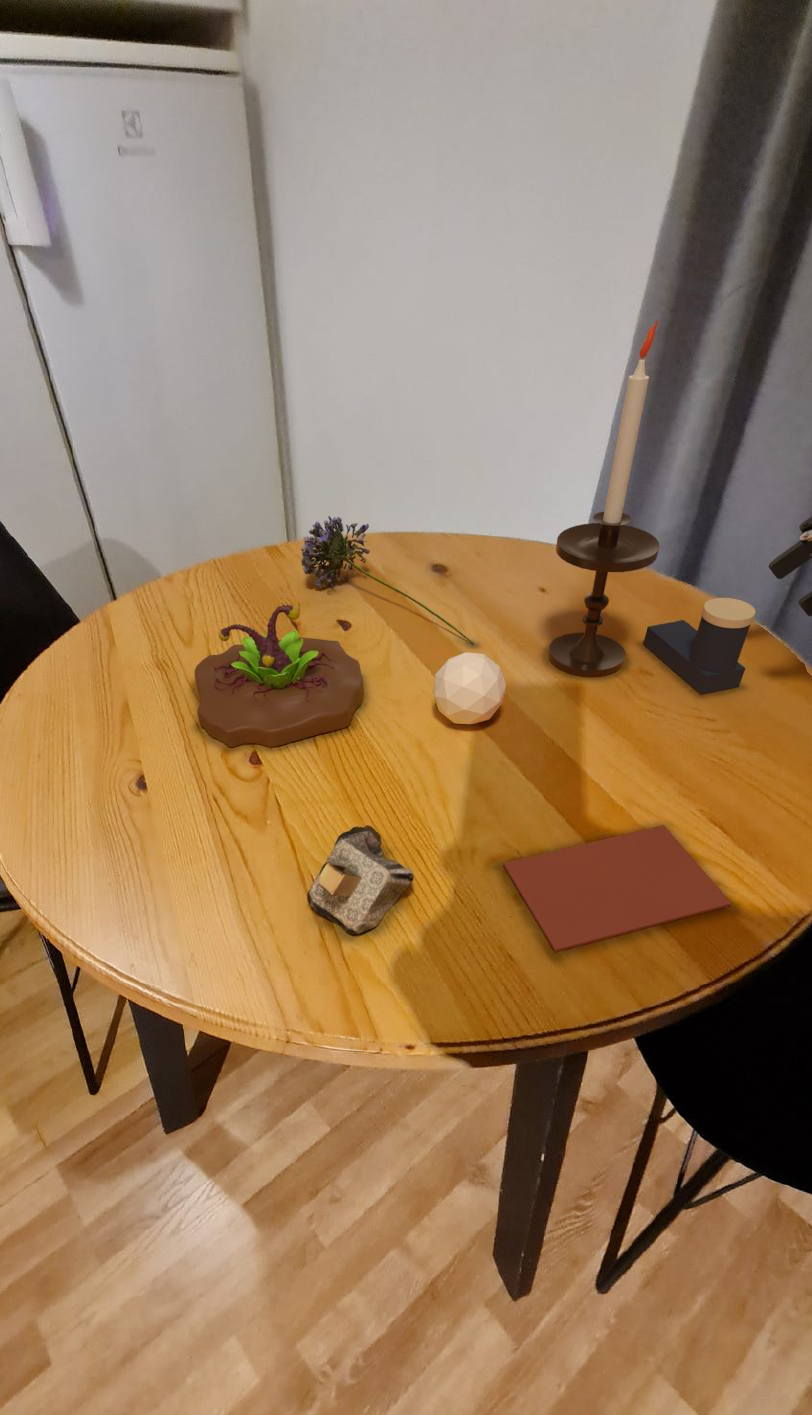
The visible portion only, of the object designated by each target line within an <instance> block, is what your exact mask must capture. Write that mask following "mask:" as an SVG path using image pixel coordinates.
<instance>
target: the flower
mask: <svg viewBox="0 0 812 1415" xmlns="http://www.w3.org/2000/svg"><path fill="white" fill-rule="evenodd" d="M327 516H328V520H327V519H325V520H324V521H323V525H324V528H323V527H322V525H321V523H320V522H319V521H316V522H315V523H314V524H312V525H311V526H312V528H310V529H309V530H308V533H309V535H311V536H308V535H307V536H303V543H304V546H301V547H300V550H301V554H302V558H301V559H300V561H301V566H302V567H303V568H302V570H303V572H304V575H312V576H313V575H314V577H315V578H317V579H316V581H315V582H314V583H313V584H314V586H318V587H319V588H320V589H321V588H322V583H323V582H324V581H325V582H326V587H330V586H331V587H333V588H334V589H335V588H336V586H334V584H333V582H335V580H337V581H338V582H341V579H342V577H341V573H342V569H343V570H345V569H347V568H348V569H347V570H346V576H345V577H344V581H346V582H348V581H349V579H350V576H349V571H351V570H353V568H354V569H356V570H358V571H360V572H361V573H363V574H364V575H365V576H367V577H369V578H371V579H372V580H374V581H376V582H378V583H380V584H382V585H383V586H386V587H387V588H388V589H391V590H392V591H395V592H396V593H399V594H401V595H402V596H404V597H406V598H408V599H410V600H411V601H412V602H414V603H415V604H418V605H419V606H421V607H422V608H423V609H425V610H426V611H428V612H429V613H430V614H431V615H433V616H435V617H436V618H438V619H439V620H440V621H442V622H443V623H444V624H446V625H447V626H449V627H450V628H452V630H455V632H457V633H458V634H459V635H460V636H462V637H463V638H464V639H466V640H467V641H468V642H469V643H470V644H472V645H473V646H474V645H475V643H474V642H473V641H472V640H471V639H470V638H468V636H466V635H465V634H463V633H462V632H461V631H460V630H458V629H457V628H456V627H455V626H454V625H452V624H451V623H450V622H448V621H447V620H445V619H444V618H443V617H442V616H440V615H439V614H438V613H436V612H434V611H433V610H432V609H430V608H428V606H426V605H424V603H421V602H419V601H418V600H417V599H415V598H413V597H411V596H410V595H408V594H407V593H404V592H403V591H402V590H400V589H397V588H395V587H394V586H392V585H390V584H389V583H386V582H385V581H383V580H381V579H379V578H377V577H374V576H373V574H370V573H368V572H367V571H365V570H364V569H362V568H361V567H360V566H358V565H356V564H355V561H354V560H355V559H356V557H357V556H358V557H360V558H361V559H359V561H360V562H362V564H366V562H367V559H366V557H364V556H363V554H366V555H369V554H370V553H371V550H370V549H367V548H364V547H365V544H364V543H368V540H365V537H366V535H367V534H366V533H365V532H367V530H368V529H369V527H370V525H369V523H366V524H362V525H361V526H360V527H359V529H358V530H356V527H357V526H358V525H359V524H358V523H357V522H355V523H351V524H350V525H348V524H346V525H345V527H346V530H347V531H346V535H345V537H344V535H343V532H345V530H344V524H343V523H342V522H343V520H342V518H341V517H340V516H337V517H335V516H334V517H331V516H330V515H327ZM351 529H352V532H351ZM350 532H351V533H352V535H351V538H352V539H349V536H348V535H349V534H350ZM354 536H356V538H354ZM359 536H361V537H360V538H359ZM358 544H359V545H361V546H362V547H361V546H359V545H358ZM356 555H357V556H356ZM344 562H345V564H344ZM327 563H328V564H327ZM326 564H327V565H326Z"/></svg>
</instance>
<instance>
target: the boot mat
mask: <svg viewBox="0 0 812 1415" xmlns="http://www.w3.org/2000/svg"><path fill="white" fill-rule="evenodd" d="M502 867H503V868H504V870H505V872H506V873H507V875H508V877H509V878H510V880H511V882H512V884H513V885H514V887H515V888H516V890H517V892H518V894H519V895H520V897H521V899H522V900H523V902H524V903H525V905H526V907H527V908H528V910H529V912H530V914H531V915H532V918H534V920H535V922H536V924H537V925H538V927H539V929H540V930H541V932H542V933H543V935H544V937H545V939H546V941H547V942H548V944H549V945H550V947H551V949H552V950H553V952H554V953H558V952H562V951H566V950H569V949H573V948H577V947H580V946H584V945H589V944H591V943H596V942H600V941H603V940H607V939H611V938H615V937H618V936H622V935H626V934H629V933H633V932H634V933H635V932H638V931H640V930H641V931H642V930H646V929H649V928H653V927H657V926H660V925H663V924H668V923H672V922H675V921H678V920H683V919H687V918H690V917H695V916H698V915H701V914H706V913H709V912H713V911H716V910H720V909H721V910H722V909H724V908H728V907H731V906H732V903H733V902H732V901H731V900H730V899H729V898H728V897H727V896H726V895H725V893H724V892H723V891H722V890H721V889H720V888H719V886H718V885H717V884H716V883H715V882H714V881H713V879H711V877H710V876H709V875H708V874H707V873H706V871H704V869H703V868H702V867H701V866H700V865H699V864H698V863H697V861H696V860H695V859H694V858H693V857H692V856H691V854H690V853H689V852H688V851H687V850H686V849H685V848H684V846H683V845H682V844H681V843H680V842H679V841H678V839H677V838H676V837H675V836H674V835H673V834H672V833H671V831H669V829H668V828H667V827H666V826H665V824H662V825H658V826H653V827H649V828H644V829H641V830H637V831H633V832H628V833H624V834H619V835H616V836H611V837H608V838H607V837H606V838H602V839H599V840H595V841H590V842H586V843H582V844H579V845H574V846H569V847H566V848H562V849H556V850H553V851H549V852H545V853H540V854H536V855H532V856H528V857H524V858H519V859H515V860H512V861H507V862H503V865H502Z"/></svg>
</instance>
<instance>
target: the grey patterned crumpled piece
mask: <svg viewBox="0 0 812 1415" xmlns="http://www.w3.org/2000/svg"><path fill="white" fill-rule="evenodd" d="M381 843H382V836H381V834H380V833H379V832H378V831H377V830H376V829H375V828H374V827H373V826H372V825H368V824H367V825H365V826H354V827H352V828H351V829H349V830H347V831H344V832H342V833H340V834H339V835H338V836H337V839H336V840H335V843H334V845H333V849H332V851H331V852H330V854H329V856H328V857H327V859H326V861H325V862H324V864H323V865H322V867H321V869H320V871H319V872H318V874H317V875H316V877H315V879H314V881H313V882H312V884H311V886H310V887H309V890H308V891H307V894H306V899H307V903H308V905H309V906H310V907H312V909H313V910H314V911H315V912H316V913H318V914H319V915H321V916H322V917H326V918H327V919H328V920H329V921H331V922H332V923H334V924H335V925H337V926H340V927H341V929H342V930H343V931H345V932H346V933H348V934H349V935H358V934H361V933H362V932H365V931H368V930H372V929H374V928H376V927H378V926H379V925H380V923H381V921H382V920H383V918H384V916H385V914H386V913H387V912H388V911H389V910H390V909H391V908H392V906H394V905H395V903H396V902H397V901H398V899H399V898H400V896H401V894H403V893H404V892H405V891H407V890H408V889H409V887H410V886H411V885H412V883H413V882H414V877H415V876H414V872H413V870H412V869H410V868H408V867H405V866H403V865H402V864H401V863H400V862H398V861H396V860H395V859H390V858H387V857H384V856H382V855H384V851H383V849H382V847H381Z"/></svg>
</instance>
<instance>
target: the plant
mask: <svg viewBox="0 0 812 1415" xmlns="http://www.w3.org/2000/svg"><path fill="white" fill-rule="evenodd" d="M280 613H282V614H283V613H284V615H285V616H286V618H288V619H289V620H292V621H295V620H297V619H299V617H300V613H301V612H300V610H299V608H298V607H296V606H295V605H292V604H290V605H289V604H286V605H285V604H283V605H280V606H277V607H276V609H275V610H274V611H273V612H272V613H271V616H270V618H269V620H268V621H269V622H268V623H267V624H266V627H267V634H266V633H265V634H260V633H259V632H258V631H256V629H254V628H253V629H252V627H250V626H247V625H243V624H237V623H235V624H231V625H230V626H227V627H224V628H222V629H220V631H219V632H218V638H219V639H220V641H221V642H227V641H228V640H230V638H231V631H232V630H233V631H234V630H236V631H238V630H239V631H241V632H243V633H246V634H247V635H248V637H247V636H243V637H242V639H241V643H242V644H233V645H232V646H230V647H229V648H228V649H226V650H225V651H223V652H221V653H219V654H210V655H207V656H206V657H205V658H203V659H202V660H201V661H200V662H199V663H198V664H197V666H195V669H194V679H195V684H196V688H197V692H198V694H199V695H198V696H199V705H198V707H197V717H198V721H199V725H200V727H201V728H202V729H204V730H205V731H206V732H207V734H209V735H210V737H212V738H213V739H215V740H218V741H220V742H222V743H223V744H224V745H226V746H227V747H228V748H235V747H238V746H240V745H246V744H257V745H262V746H265V747H269V748H274V747H279V746H283V745H286V744H290V743H292V742H297V741H299V740H300V741H301V740H304V739H307V738H311V737H314V736H317V735H321V734H327V733H331V732H334V731H338V730H341V729H345V728H348V727H349V726H350V725H351V722H352V719H353V717H354V714H355V712H356V710H358V708H359V707H360V706H361V704H362V703H363V699H364V680H363V674H362V669H361V665H360V662H359V660H358V659H356V658H354V657H352V656H350V655H349V654H348V653H347V652H346V651H345V649H344V648H343V647H342V645H341V644H340V642H339V641H338V640H328V639H321V638H310V637H302V636H300V635H299V632H298V631H297V630H296V629H294V630H291V631H289V632H287V633H286V634H285V635H284V636H283V637H282V638H281V639H279V637H278V636H277V628H276V627H277V620H278V617H279V614H280Z"/></svg>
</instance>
